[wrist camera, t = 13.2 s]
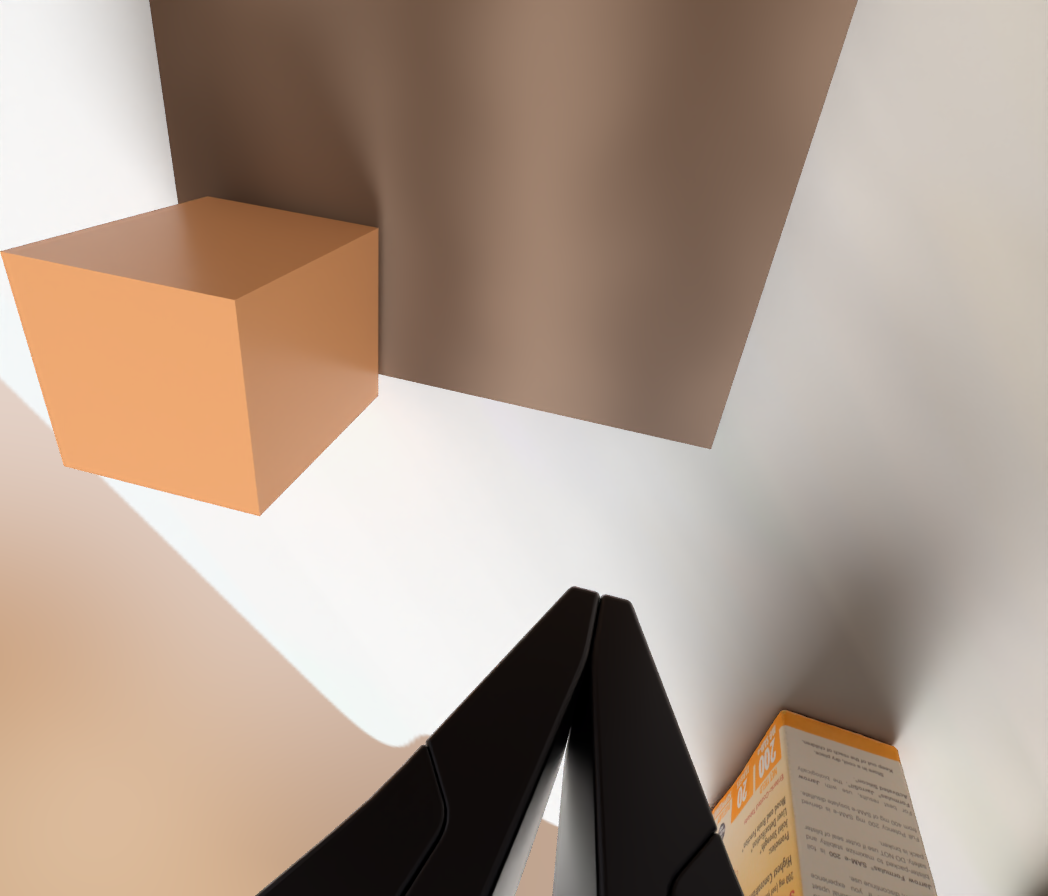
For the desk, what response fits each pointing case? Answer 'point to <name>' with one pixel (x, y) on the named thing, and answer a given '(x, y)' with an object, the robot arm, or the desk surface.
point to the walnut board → (523, 175)
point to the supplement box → (822, 816)
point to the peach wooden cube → (202, 344)
